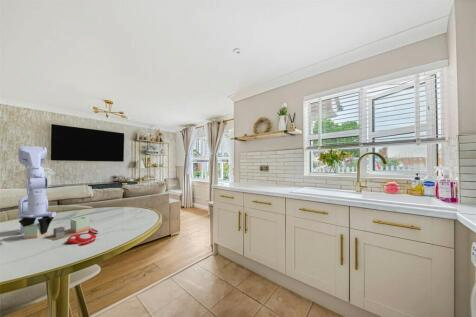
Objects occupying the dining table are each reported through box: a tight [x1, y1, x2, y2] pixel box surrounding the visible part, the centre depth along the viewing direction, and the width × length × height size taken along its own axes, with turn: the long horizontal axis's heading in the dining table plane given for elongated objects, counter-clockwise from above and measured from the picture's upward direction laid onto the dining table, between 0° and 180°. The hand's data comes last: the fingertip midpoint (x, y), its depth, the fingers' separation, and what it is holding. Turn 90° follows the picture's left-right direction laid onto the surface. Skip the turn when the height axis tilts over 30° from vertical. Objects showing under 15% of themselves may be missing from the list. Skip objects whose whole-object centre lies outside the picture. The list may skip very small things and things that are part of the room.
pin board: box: [44, 226, 94, 241], centre depth 86 cm, size 10×15×4 cm, turn 155°
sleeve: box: [23, 223, 50, 240], centre depth 83 cm, size 6×6×6 cm
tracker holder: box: [65, 227, 100, 247], centre depth 79 cm, size 12×4×10 cm
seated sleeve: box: [69, 216, 91, 232], centre depth 90 cm, size 6×6×6 cm
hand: (36, 233), depth 83 cm, fingers closed on sleeve, 5 cm apart
